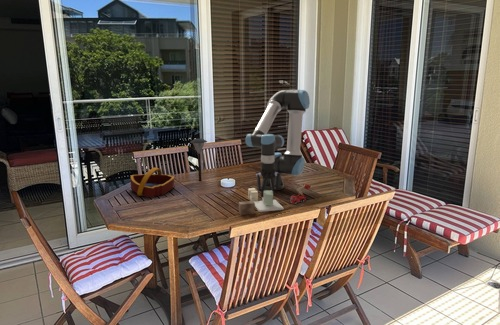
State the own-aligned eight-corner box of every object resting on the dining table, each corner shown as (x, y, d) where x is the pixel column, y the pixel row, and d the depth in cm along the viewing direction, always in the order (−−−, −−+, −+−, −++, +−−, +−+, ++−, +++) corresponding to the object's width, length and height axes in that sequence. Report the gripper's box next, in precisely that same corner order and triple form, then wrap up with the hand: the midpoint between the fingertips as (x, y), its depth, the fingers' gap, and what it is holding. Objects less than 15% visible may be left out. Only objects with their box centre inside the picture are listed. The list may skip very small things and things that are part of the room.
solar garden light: (210, 181, 261) (209, 140, 254) (193, 183, 257) (191, 141, 250) (206, 177, 272) (204, 137, 266) (189, 179, 268) (188, 138, 261)
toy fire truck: (289, 203, 216) (289, 187, 214) (306, 198, 224) (306, 183, 221) (293, 204, 213) (293, 188, 211) (310, 200, 221) (310, 184, 219)
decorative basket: (160, 202, 225) (162, 179, 222) (117, 193, 230) (118, 170, 227) (180, 187, 258) (183, 167, 254) (142, 179, 263) (144, 159, 259)
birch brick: (248, 197, 226) (248, 188, 224) (254, 197, 227) (254, 188, 225) (251, 202, 218) (251, 192, 217) (257, 201, 219) (257, 191, 218)
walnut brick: (240, 215, 198) (240, 204, 196) (238, 212, 201) (238, 202, 200) (254, 213, 200) (254, 203, 198) (252, 211, 203) (252, 200, 202)
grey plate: (252, 203, 216) (252, 201, 216) (275, 201, 219) (275, 199, 219) (259, 211, 202) (259, 210, 201) (283, 209, 205) (283, 207, 205)
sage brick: (262, 200, 213) (262, 190, 212) (268, 200, 214) (268, 190, 213) (266, 205, 206) (266, 194, 204) (273, 204, 206) (273, 194, 205)
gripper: (254, 164, 199) (254, 205, 204) (284, 162, 203) (283, 203, 208) (251, 161, 206) (251, 201, 211) (280, 159, 210) (279, 198, 215)
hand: (267, 202), depth 210 cm, fingers closed on sage brick, 4 cm apart
